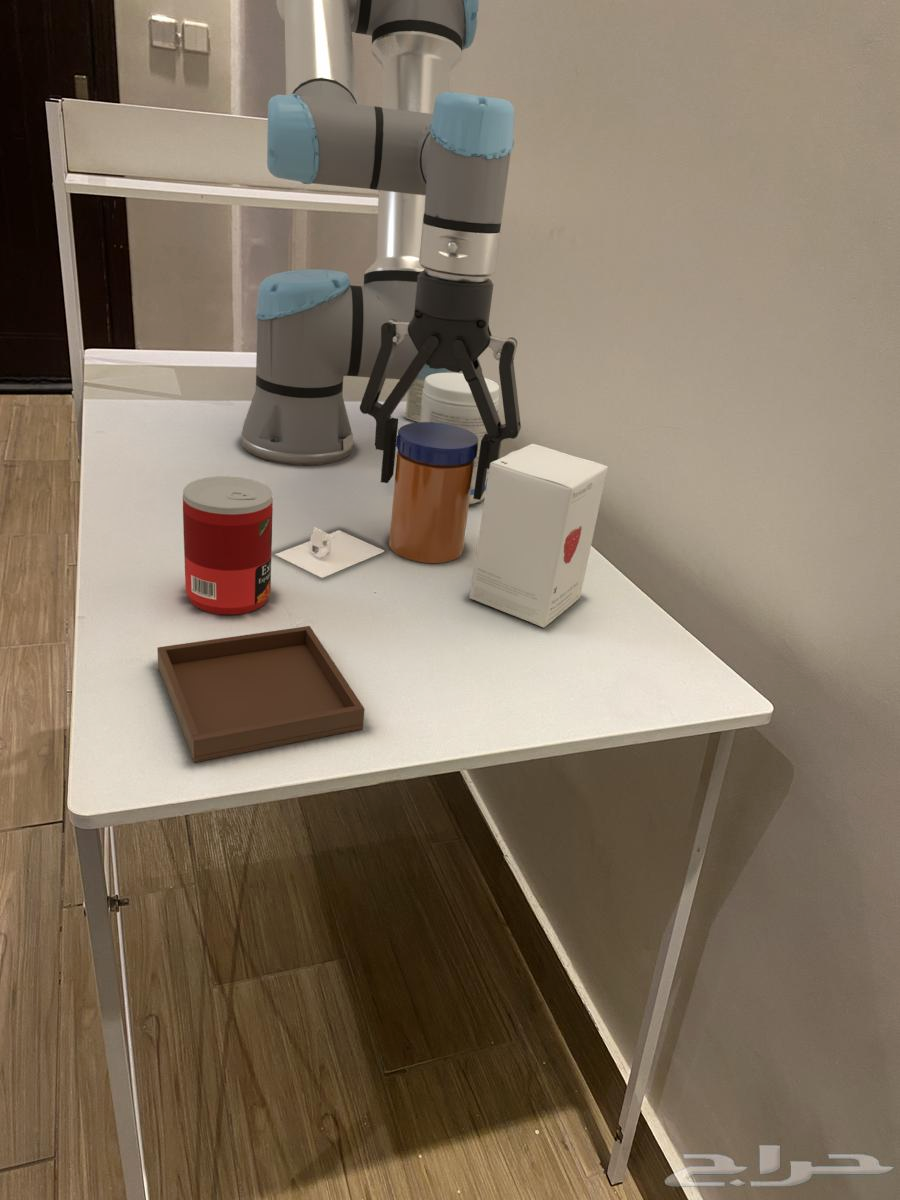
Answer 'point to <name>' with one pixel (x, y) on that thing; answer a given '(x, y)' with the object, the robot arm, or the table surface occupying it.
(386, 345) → the robot arm
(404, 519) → the jar
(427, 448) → the lid
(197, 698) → the tray
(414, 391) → the cosmetics bottle
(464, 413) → the supplement tub
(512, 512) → the rectangular carton
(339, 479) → the table surface
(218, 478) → the canned food
